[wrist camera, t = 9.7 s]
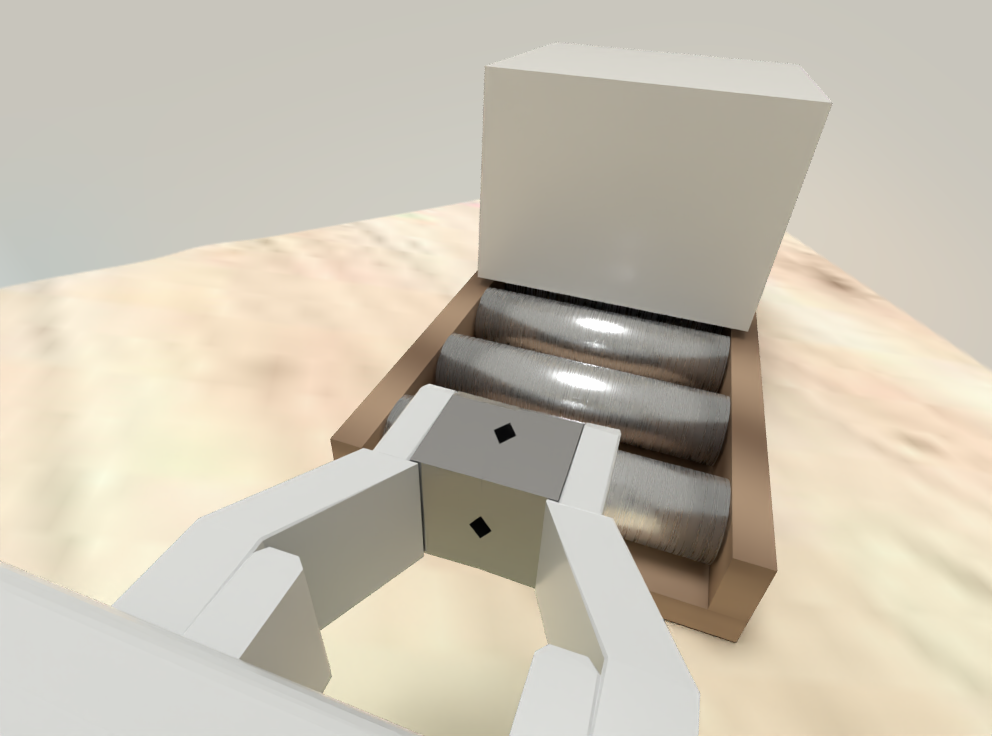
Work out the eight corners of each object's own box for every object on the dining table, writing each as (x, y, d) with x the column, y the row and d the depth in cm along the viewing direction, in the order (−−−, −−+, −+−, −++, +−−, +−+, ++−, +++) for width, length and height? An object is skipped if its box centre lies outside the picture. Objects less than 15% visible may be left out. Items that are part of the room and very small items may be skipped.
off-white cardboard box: (748, 331, 21) (832, 102, 17) (477, 276, 24) (484, 65, 19) (742, 238, 29) (799, 64, 24) (539, 204, 32) (555, 42, 27)
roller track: (736, 642, 15) (844, 454, 11) (342, 512, 18) (311, 324, 14) (732, 290, 32) (773, 166, 28) (532, 252, 35) (543, 134, 31)
